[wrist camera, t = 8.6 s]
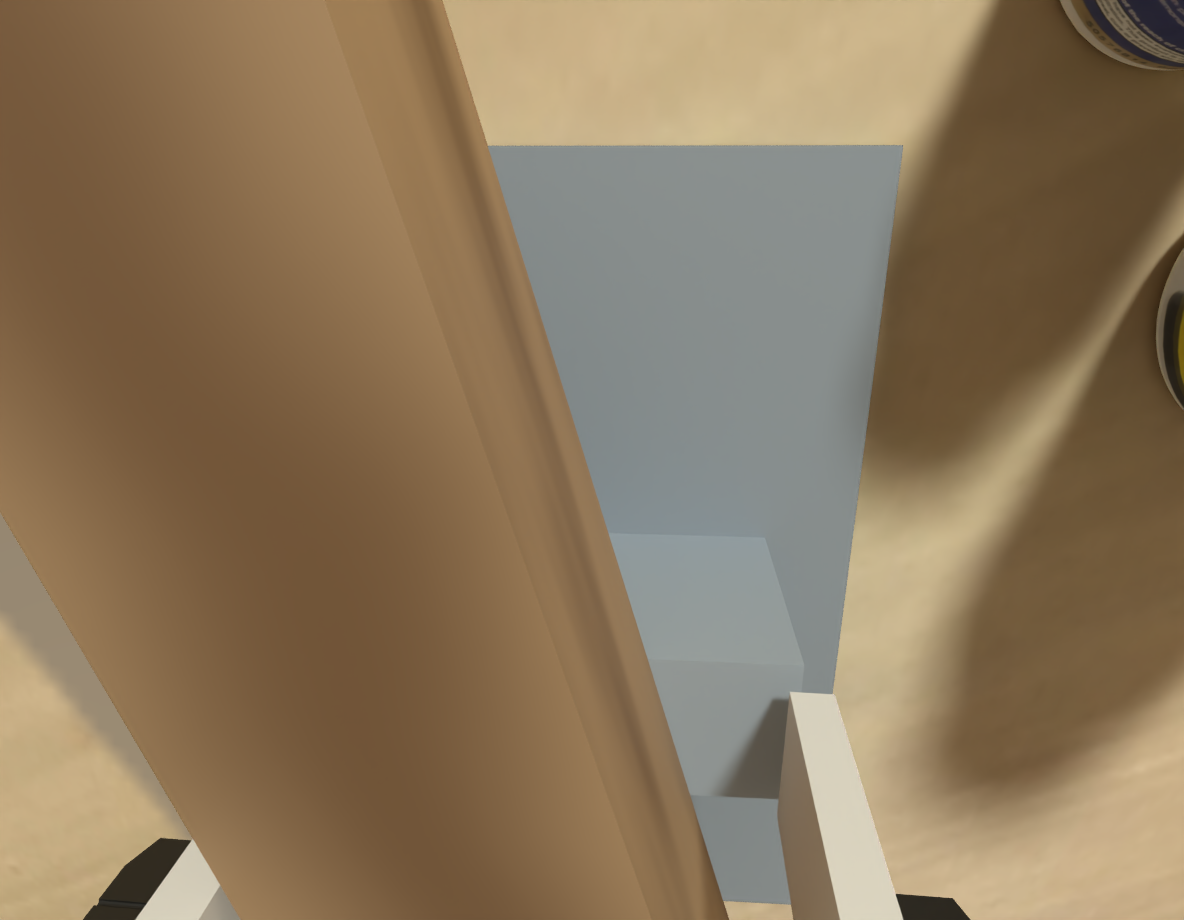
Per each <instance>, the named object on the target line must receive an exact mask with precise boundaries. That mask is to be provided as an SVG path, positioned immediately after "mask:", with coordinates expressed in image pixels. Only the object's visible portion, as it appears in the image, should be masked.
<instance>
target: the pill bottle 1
mask: <svg viewBox="0 0 1184 920" xmlns="http://www.w3.org/2000/svg"><path fill="white" fill-rule="evenodd" d="M1060 2H1061V5H1062V7H1063V9H1064V10H1065V12H1066V14H1067V16H1068V18H1069V19H1070V21H1071V22H1072V24H1073V25H1074V27H1075V28H1076V29H1077V31H1078V32H1079V33H1080V34H1081V35H1082V36H1083V37H1084V38H1085V39H1086V40H1087V41H1088V42H1089V43H1090V44H1092V45H1093V46H1094V47H1096V48H1097V49H1098V50H1100V51H1101V52H1103V53H1104V54H1106V55H1108V56H1109V57H1111V58H1114V59H1116V60H1118V61H1120V62H1122V63H1125V64H1129V65H1132V66H1136V67H1140V68H1145V69H1152V70H1166V71H1167V70H1184V0H1060Z"/></svg>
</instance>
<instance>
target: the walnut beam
mask: <svg viewBox="0 0 1184 920" xmlns="http://www.w3.org/2000/svg"><path fill="white" fill-rule="evenodd" d="M0 513H1V514H2V516H3V518H4V519H5V521H6V523H7V524H8V526H9V528H10V530H11V531H12V533H13V534H14V536H15V538H16V540H17V542H18V543H19V545H20V546H21V548H22V550H23V551H24V553H25V555H26V557H27V558H28V560H29V562H30V564H31V565H32V567H33V569H34V570H35V572H36V574H37V575H38V577H39V579H40V580H41V582H42V584H43V586H44V587H45V589H46V591H47V592H48V594H49V595H50V597H51V599H52V601H53V602H54V604H55V606H56V607H57V609H58V611H59V613H60V614H61V616H62V618H63V620H64V621H65V623H66V625H67V626H68V628H69V630H70V631H71V633H72V635H73V636H74V638H75V640H76V641H77V643H78V645H79V647H80V648H81V650H82V652H83V653H84V655H85V657H86V659H87V660H88V662H89V664H90V665H91V667H92V669H93V670H94V672H95V674H96V675H97V677H98V679H99V681H100V682H101V684H102V686H103V687H104V689H105V691H106V692H107V694H108V696H109V697H110V699H111V701H112V703H113V704H114V706H115V708H116V709H117V711H118V713H119V714H120V716H121V718H122V720H123V721H124V723H125V725H126V726H127V728H128V729H129V731H130V733H131V735H132V737H133V738H134V740H135V741H136V743H137V745H138V747H139V748H140V750H141V752H142V753H143V755H144V757H145V759H146V760H147V762H148V763H149V765H150V767H151V769H152V770H153V772H154V774H155V775H156V777H157V779H158V781H159V782H160V784H161V786H162V787H163V789H164V791H165V792H166V794H167V796H168V798H169V799H170V801H171V803H172V804H173V806H174V808H175V809H176V811H177V813H178V814H179V816H180V818H181V820H182V821H183V823H184V825H185V826H186V828H187V830H188V831H189V833H190V835H191V837H192V838H193V840H194V842H195V843H196V845H197V847H198V848H199V850H200V852H201V853H202V855H203V857H204V859H205V860H206V862H207V864H208V865H209V867H210V869H211V870H212V872H213V874H214V876H215V877H216V879H217V881H218V882H219V884H220V886H221V887H222V889H223V891H224V892H225V894H226V896H227V898H228V899H229V901H230V903H231V904H232V906H233V908H234V909H235V911H236V913H237V915H238V916H239V918H240V920H729V918H728V915H727V912H726V908H725V905H724V902H723V899H722V896H721V892H720V889H719V886H718V883H717V880H716V876H715V873H714V870H713V867H712V864H711V860H710V857H709V854H708V851H707V847H706V844H705V841H704V838H703V835H702V831H701V828H700V825H699V822H698V819H697V815H696V812H695V809H694V806H693V803H692V799H691V796H690V793H689V790H688V787H687V783H686V780H685V777H684V774H683V771H682V767H681V764H680V761H679V758H678V755H677V751H676V748H675V745H674V742H673V738H672V735H671V732H670V729H669V726H668V722H667V719H666V716H665V713H664V710H663V706H662V703H661V700H660V697H659V694H658V690H657V687H656V684H655V681H654V678H653V674H652V671H651V668H650V665H649V662H648V658H647V655H646V652H645V649H644V646H643V642H642V639H641V636H640V633H639V629H638V626H637V623H636V620H635V617H634V613H633V610H632V607H631V604H630V601H629V597H628V594H627V591H626V588H625V585H624V581H623V578H622V575H621V572H620V569H619V565H618V562H617V559H616V556H615V553H614V549H613V546H612V543H611V540H610V537H609V533H608V530H607V527H606V524H605V520H604V517H603V514H602V511H601V508H600V504H599V501H598V498H597V495H596V492H595V488H594V485H593V482H592V479H591V476H590V472H589V469H588V466H587V463H586V460H585V456H584V453H583V450H582V447H581V444H580V440H579V437H578V434H577V431H576V428H575V424H574V421H573V418H572V415H571V411H570V408H569V405H568V402H567V399H566V395H565V392H564V389H563V386H562V383H561V379H560V376H559V373H558V370H557V367H556V363H555V360H554V357H553V354H552V351H551V347H550V344H549V341H548V338H547V335H546V331H545V328H544V325H543V322H542V319H541V315H540V312H539V309H538V306H537V302H536V299H535V296H534V293H533V290H532V286H531V283H530V280H529V277H528V274H527V270H526V267H525V264H524V261H523V258H522V254H521V251H520V248H519V245H518V242H517V238H516V235H515V232H514V229H513V226H512V222H511V219H510V216H509V213H508V210H507V206H506V203H505V200H504V197H503V193H502V190H501V187H500V184H499V181H498V177H497V174H496V171H495V168H494V165H493V161H492V158H491V155H490V152H489V149H488V145H487V142H486V139H485V136H484V133H483V129H482V126H481V123H480V120H479V117H478V113H477V110H476V107H475V104H474V101H473V97H472V94H471V91H470V88H469V84H468V81H467V78H466V75H465V72H464V68H463V65H462V62H461V59H460V56H459V52H458V49H457V46H456V43H455V40H454V36H453V33H452V30H451V27H450V24H449V20H448V17H447V14H446V11H445V8H444V4H443V1H442V0H0Z"/></svg>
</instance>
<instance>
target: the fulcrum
mask: <svg viewBox="0 0 1184 920" xmlns="http://www.w3.org/2000/svg"><path fill="white" fill-rule="evenodd" d="M488 149H489V152H490V155H491V158H492V161H493V165H494V168H495V171H496V174H497V177H498V181H499V184H500V187H501V190H502V193H503V197H504V200H505V203H506V206H507V210H508V213H509V216H510V219H511V222H512V226H513V229H514V232H515V235H516V238H517V242H518V245H519V248H520V251H521V254H522V258H523V261H524V264H525V267H526V270H527V274H528V277H529V280H530V283H531V286H532V290H533V293H534V296H535V299H536V302H537V306H538V309H539V312H540V315H541V319H542V322H543V325H544V328H545V331H546V335H547V338H548V341H549V344H550V347H551V351H552V354H553V357H554V360H555V363H556V367H557V370H558V373H559V376H560V379H561V383H562V386H563V389H564V392H565V395H566V399H567V402H568V405H569V408H570V411H571V415H572V418H573V421H574V424H575V428H576V431H577V434H578V437H579V440H580V444H581V447H582V450H583V453H584V456H585V460H586V463H587V466H588V469H589V472H590V476H591V479H592V482H593V485H594V488H595V492H596V495H597V498H598V501H599V504H600V508H601V511H602V514H603V517H604V520H605V524H606V527H607V530H608V533H609V537H610V540H611V543H612V546H613V549H614V553H615V556H616V559H617V562H618V565H619V569H620V572H621V575H622V578H623V581H624V585H625V588H626V591H627V594H628V597H629V601H630V604H631V607H632V610H633V613H634V617H635V620H636V623H637V626H638V629H639V633H640V636H641V639H642V642H643V646H644V649H645V652H646V655H647V658H648V662H649V665H650V668H651V671H652V674H653V678H654V681H655V684H656V687H657V690H658V694H659V697H660V700H661V703H662V706H663V710H664V713H665V716H666V719H667V722H668V726H669V729H670V732H671V735H672V738H673V742H674V745H675V748H676V751H677V755H678V758H679V761H680V764H681V767H682V771H683V774H684V777H685V780H686V783H687V787H688V790H689V793H690V796H691V799H692V803H693V806H694V809H695V812H696V815H697V819H698V822H699V825H700V828H701V831H702V835H703V838H704V841H705V844H706V847H707V851H708V854H709V857H710V860H711V864H712V867H713V870H714V873H715V876H716V880H717V883H718V886H719V889H720V892H721V896H722V899H723V901H736V902H754V903H772V904H790V905H791V900H790V894H789V888H788V882H787V875H786V869H785V863H784V857H783V850H782V844H781V838H780V831H779V825H778V819H777V810H778V800H779V791H780V781H781V771H782V762H783V752H784V742H785V733H786V723H787V713H788V704H789V694H790V692H801V693H819V694H832V693H833V686H834V678H835V670H836V662H837V655H838V647H839V639H840V631H841V624H842V616H843V608H844V600H845V593H846V585H847V577H848V569H849V562H850V554H851V546H852V538H853V531H854V523H855V515H856V507H857V500H858V492H859V484H860V476H861V469H862V461H863V453H864V445H865V438H866V430H867V422H868V414H869V407H870V399H871V391H872V383H873V376H874V368H875V360H876V352H877V345H878V337H879V329H880V321H881V314H882V306H883V298H884V290H885V283H886V275H887V267H888V259H889V252H890V244H891V236H892V228H893V221H894V213H895V205H896V197H897V190H898V182H899V174H900V166H901V159H902V151H903V145H836V146H488Z"/></svg>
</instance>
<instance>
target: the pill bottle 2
mask: <svg viewBox="0 0 1184 920" xmlns="http://www.w3.org/2000/svg"><path fill="white" fill-rule="evenodd" d="M1156 347H1157V355H1158V361H1159V365H1160V369H1161V372H1162V375H1163V377H1164V380H1165V382H1166V385H1167V387H1168V389H1169V390H1170V392H1171V394H1172V396H1173V397H1174V399H1175V400H1176V402H1177V403H1178V405H1179V406H1180V407H1181V408H1182V409H1183V411H1184V248H1183V250H1182V251H1181V253H1180V254H1179V256H1178V258H1177V260H1176V262H1175V264H1174V266H1173V268H1172V270H1171V272H1170V275H1169V277H1168V279H1167V282H1166V284H1165V287H1164V290H1163V293H1162V296H1161V301H1160V305H1159V309H1158V316H1157V326H1156Z"/></svg>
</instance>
